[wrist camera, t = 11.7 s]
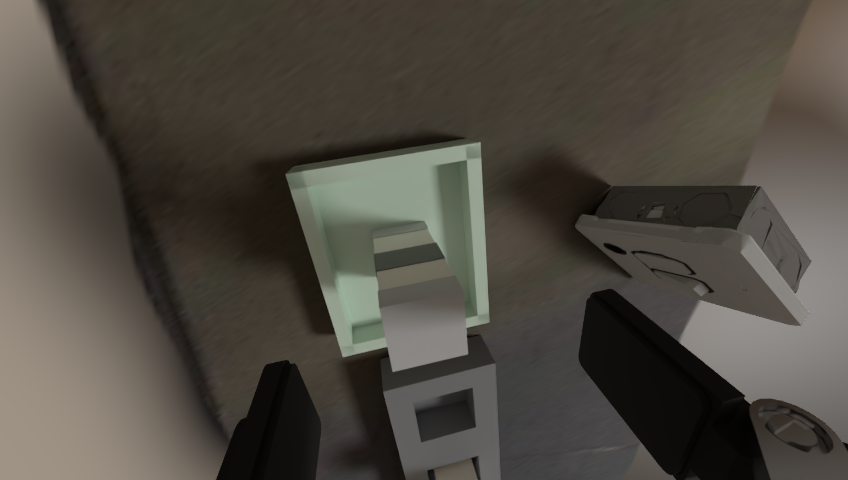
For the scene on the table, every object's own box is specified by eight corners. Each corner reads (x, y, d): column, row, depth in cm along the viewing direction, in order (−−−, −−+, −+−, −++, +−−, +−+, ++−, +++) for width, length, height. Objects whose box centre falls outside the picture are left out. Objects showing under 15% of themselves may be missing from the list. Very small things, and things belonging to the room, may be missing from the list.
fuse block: (380, 359, 24) (382, 391, 21) (480, 334, 25) (495, 363, 22) (410, 481, 30) (415, 517, 28) (488, 458, 31) (501, 491, 29)
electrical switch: (566, 222, 22) (708, 278, 14) (613, 160, 22) (792, 179, 13) (635, 280, 26) (781, 354, 17) (677, 229, 25) (851, 279, 17)
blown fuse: (371, 230, 19) (379, 308, 12) (424, 221, 19) (463, 290, 12) (380, 277, 20) (392, 372, 13) (430, 267, 21) (468, 354, 13)
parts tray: (293, 166, 17) (285, 174, 15) (467, 138, 18) (480, 142, 16) (344, 334, 22) (343, 357, 20) (478, 303, 23) (489, 322, 21)
